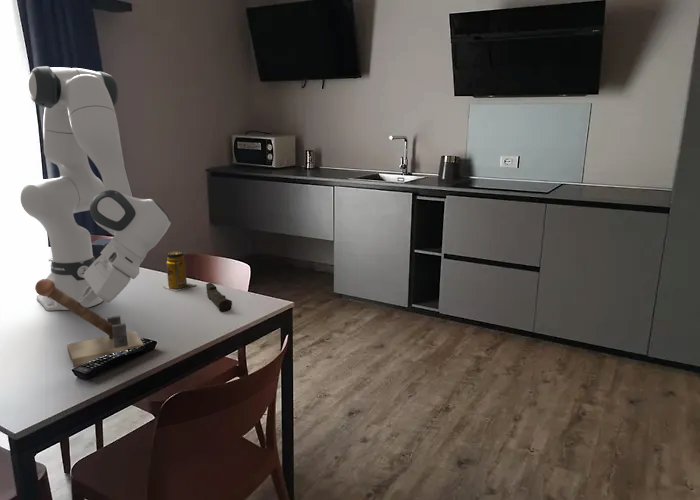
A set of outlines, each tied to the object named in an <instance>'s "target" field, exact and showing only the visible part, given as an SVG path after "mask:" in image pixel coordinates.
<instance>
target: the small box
mask: <svg viewBox="0 0 700 500" xmlns="http://www.w3.org/2000/svg"><path fill="white" fill-rule="evenodd" d="M112 239H113V238H99V239H96V240H94V241H91V243H92V252H93V256H94V257H95V260H96V259H97V258H98V257H99V256H101V255H102V254H101V251H102V250H103V249H104V248H105V247H106V245H107V244H108V243H109V242H110V241H111V240H112Z"/></svg>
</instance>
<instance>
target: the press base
mask: <svg viewBox="0 0 700 500" xmlns="http://www.w3.org/2000/svg"><path fill="white" fill-rule="evenodd" d="M106 320H107V321H108V322H110V323H111V324H113V325H112V333H113V336H109V335H107V336H101V337H97V338H92V339H87V340H81V341H76V342H71V343H67V344H66V347H67V353H68V355H69V359H70V360H71V363H72V366H73V367H74V368H76V367H80V366H83V365H82V364H84V363H87V362H89V361H92V360H94V359H96V358H99V357H102V356H105V355H108V354H112V353H116V352H120V351H125V350H128V349H132V348H137V347H141V346H144V347H145V343H144V342H143V341H142V340H141V338H140V336H139V335H138V334H137V332H136V331H135V330H133V331H127V325H126V322H124V323H123V322H122V321H121V320H122V319H121V315H113V316H107V317H106ZM79 365H80V366H79Z"/></svg>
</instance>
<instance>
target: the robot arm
mask: <svg viewBox="0 0 700 500" xmlns="http://www.w3.org/2000/svg"><path fill="white" fill-rule="evenodd" d="M27 88H28V93H29V95H30V98H31V100H32V102H33V103H34V104H36V105H37V106H39V107H42V108H44V111H43V126H42V127H43V128H42V129H43V130H42V131H43V155H44V156H45V158H46V159H47V161H49V162H50V163H52V164H54V165H56V166H57V168H58V171H59V177H55V178H46V179H40V180H36V181H34V182H31V183H29V184H27V185H25V186H24V187H23V188H22V190H21V193H20V203H21V204H20V205H21V206H22V208H23V210H24V211H25V212H26V213H27V214H28V215H29V216H30V217H32V218H34V219H36V220H37V221H38V222H39V223H40V224H41V225H42V226H43V228H44V229H45V231H46V233H47V236H48V239H49V243H50V249H51V256H52V257H51V258H53V260H51V261H50V262H51V263H50V271H51V272H50V273H49V275H47V277H46V278H45V279H49V280H51V281H53V283H54V284H55V287H56V288H58V289H59V290H61V291H62V292H64V293H65V294H67V295H68V296H70V297H71V298H73V299H75V300H76V301H78V302H79V303H80V305H82V306H83V307H87V308H90V307H93V306H96V305H98V304H100V303H102V302H103V301H104V302H106V303H110V302H113V300H114V299H116V298H117V297H118V295H119V294H120V293H121V292H122V291H123V290H124V289H125V288H126V287H127V286H128V284H129V283H130V282H131V280H132V279H133V280H135V279H136V278H137V277H138V276H139V274H140V266H141V264H142V262H143V261H144V260H145V259H146V256H147V254H148V253H149V252H150V250H152V249H153V248H155V247H156V245H158V244H159V242H160V241H161V240H162V238H163V237H164V235H165V234H166V233H167V231H168V229H169V227H170V226H171V224H172V223H171V222H172V219H171V216H170V214H169V213H168V212H167V210H165V209H164V208H163V207H162V205H161V204H159V202H157V200H155V199H153V198H140V197H134V195H133V191H132V187H131V183H130V179H129V177H128V173H127V170H126V169H127V168H126V165H125V162H124V161H125V160H124V155H123V149H122V143H121V137H120V136H121V135H120V129H119V124H118V119H117V114H116V110H115V106H116V105H117V103H118V99H119V87H118V83H117V81H116V80H115V77H113V75H111V74H110V73H109V74H108V73H106V72H104V71H95V70H92V69H91V70H90V69H85V68H78V67H72V68H71V67H50V66H47V65H45V66H37V67H34V68H33V69H32V70H31V71H30V73H29V76H28V80H27ZM89 159H90V160H91V161H92V163H93V164H94V165H95V167H96V168H97V170H98V173H99V174H100V176H101V179H102V180H101V179H100V178H99V177H97V176H96V174H95V173H94V171H93V170H92V168H91V165H90V163H89V162H90V161H89ZM86 211H87V212H88V211H89V214H90V216H91V218H92V220H93V221H94V222H95V223H96V224H97V225H98V227H100V228H102V229H103V230H105V231H106V232H107V233H109V234H110V235H111V236H112V238H111V239H112V240H111V241H110V242H109V243H108V244H107V245H106V247H105V248H104V249H103V250H102V251H101V254H102V255H101V256H99V257H98V258H97V259H96V260H95V257H94V256H93V252H92V237H91V236H92V235H91V233H90V232H89V230H88V229H87V228H85V227H83V226H80V225H79V224H78V223H77V222H76V219H75V215H74V214H76V213H77V214H78V213H81V212H86ZM36 300H37V301H38V302H39V303H40V304H41V306H42V307H43V308H44V309H45V310H46V311H60V310H61V311H70V310H69V309H67V308H65V307H64V306H62V305H61V304H59V303H58V302H56V301H54V300H53V299H51V298H50V297H48V296H41V295H39V294H38V295H36Z"/></svg>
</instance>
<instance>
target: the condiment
mask: <svg viewBox="0 0 700 500" xmlns="http://www.w3.org/2000/svg"><path fill="white" fill-rule="evenodd" d="M166 257H167V261H166V270H167V271H166V272H167V273H166V274H167V284H168V285H166V286H164V288H166V289H168V290H170V291H174V292H177V291H181V290H185V289H188V288H192V287H194V286H196V284H193V283H191V282H188V280H187V270H186V269H187V267H186V260H185V256H184V252H182V251H169V252H168V253H166Z"/></svg>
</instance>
